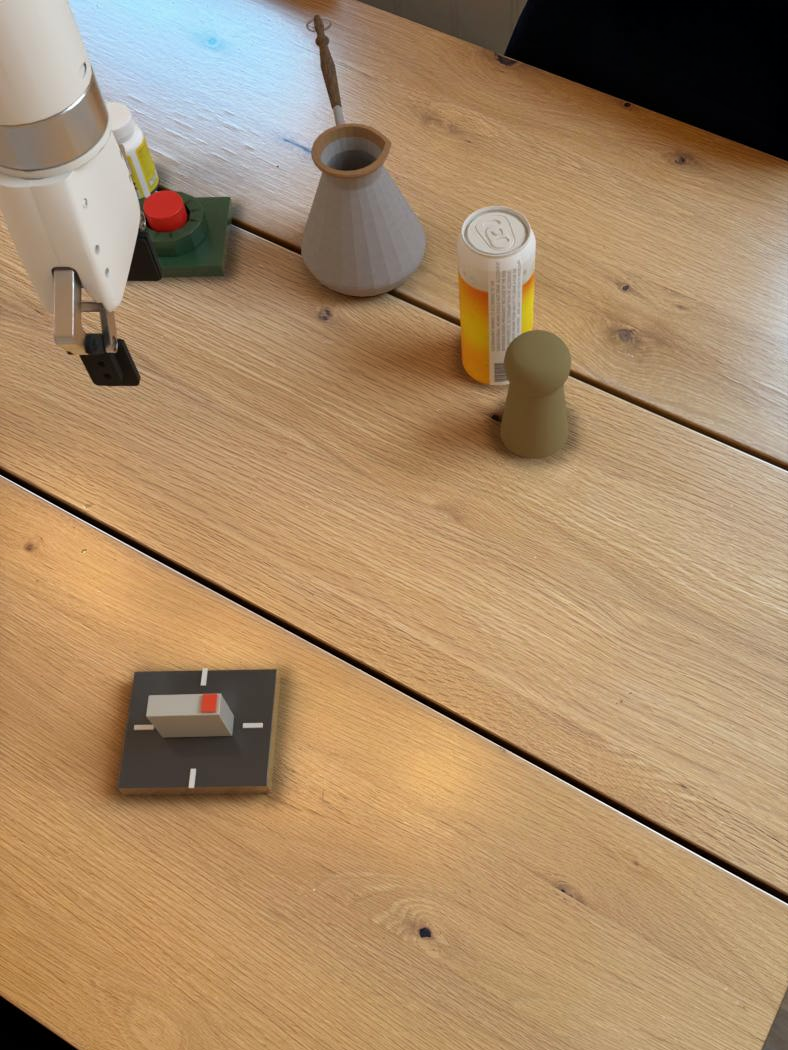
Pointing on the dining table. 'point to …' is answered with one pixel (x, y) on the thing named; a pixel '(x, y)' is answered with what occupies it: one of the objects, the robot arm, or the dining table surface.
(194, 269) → the control block
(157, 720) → the hob knob
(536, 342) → the olive pawn
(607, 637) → the dining table surface
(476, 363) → the beer can
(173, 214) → the power button
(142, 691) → the rotary switch
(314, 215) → the coffee pot
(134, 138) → the supplement bottle
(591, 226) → the dining table surface
